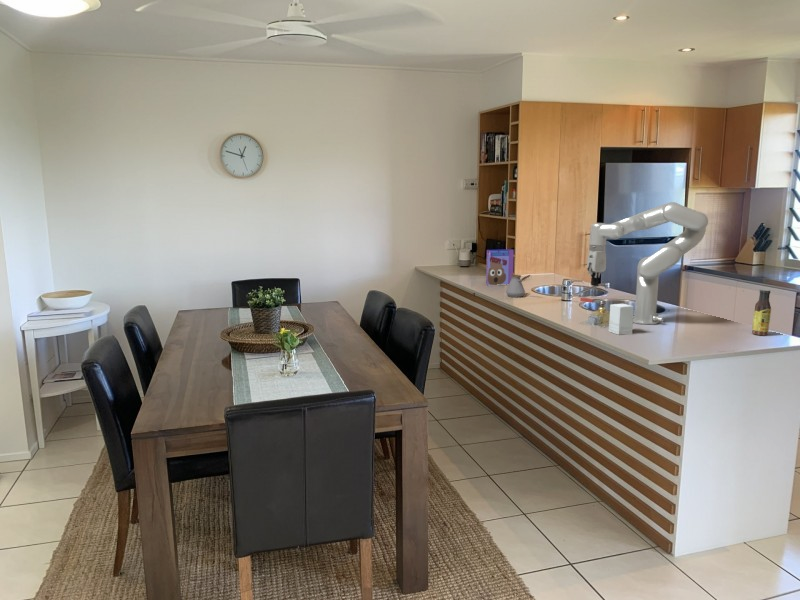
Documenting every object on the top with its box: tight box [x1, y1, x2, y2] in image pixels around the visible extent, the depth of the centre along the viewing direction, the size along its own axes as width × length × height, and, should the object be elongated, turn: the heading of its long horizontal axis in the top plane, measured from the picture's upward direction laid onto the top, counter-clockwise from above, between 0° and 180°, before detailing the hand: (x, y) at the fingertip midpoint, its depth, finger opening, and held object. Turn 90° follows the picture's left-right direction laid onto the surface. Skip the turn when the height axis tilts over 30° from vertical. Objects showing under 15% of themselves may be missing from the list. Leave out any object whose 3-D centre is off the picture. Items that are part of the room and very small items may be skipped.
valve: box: [578, 306, 610, 329], centre depth 289 cm, size 12×19×8 cm, turn 130°
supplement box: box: [608, 303, 635, 336], centre depth 268 cm, size 7×7×13 cm
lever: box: [580, 297, 607, 307], centre depth 292 cm, size 13×3×3 cm, turn 40°
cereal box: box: [485, 248, 515, 286], centre depth 406 cm, size 17×5×24 cm, turn 104°
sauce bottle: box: [751, 289, 772, 336], centre depth 263 cm, size 7×6×20 cm
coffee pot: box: [505, 274, 533, 298], centre depth 357 cm, size 21×12×15 cm, turn 21°
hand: (594, 285), depth 296 cm, fingers closed
